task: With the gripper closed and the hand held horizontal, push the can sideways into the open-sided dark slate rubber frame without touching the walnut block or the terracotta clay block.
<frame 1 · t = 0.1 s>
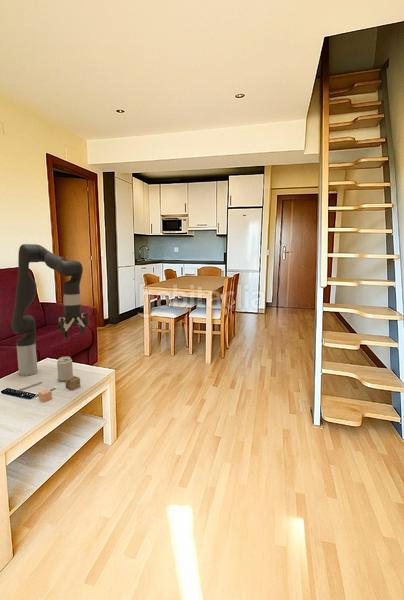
hand: (74, 336, 144), 29 cm above the table, tool pointing down, fingers open, 8 cm apart
clay block: (45, 399, 142), on the table
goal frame: (36, 389, 152), on the table
can: (65, 379, 165), on the table
walnut block: (73, 387, 155), on the table
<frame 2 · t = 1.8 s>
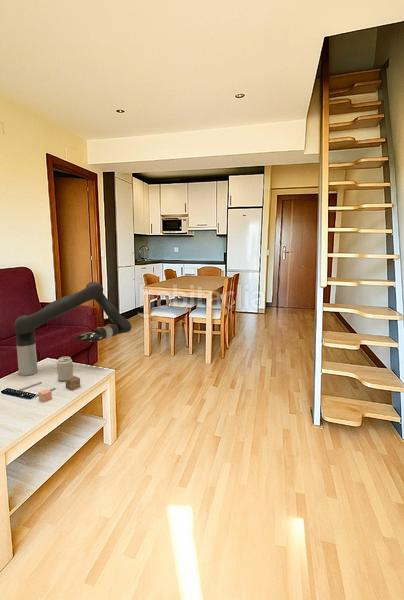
hand: (79, 339, 170), 20 cm above the table, tool horizontal, fingers open, 7 cm apart
nothing on the table moved.
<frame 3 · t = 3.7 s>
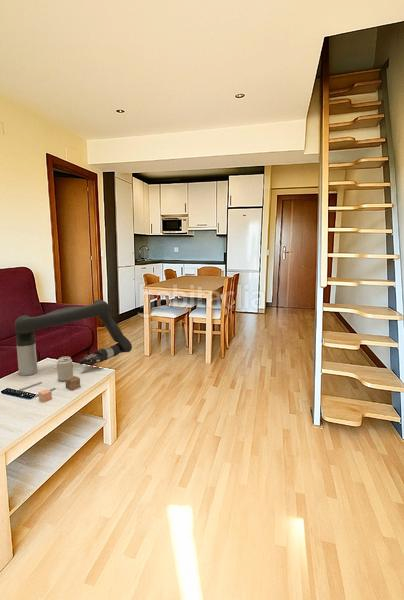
hand: (79, 362, 172), 6 cm above the table, tool horizontal, fingers closed
nothing on the table moved.
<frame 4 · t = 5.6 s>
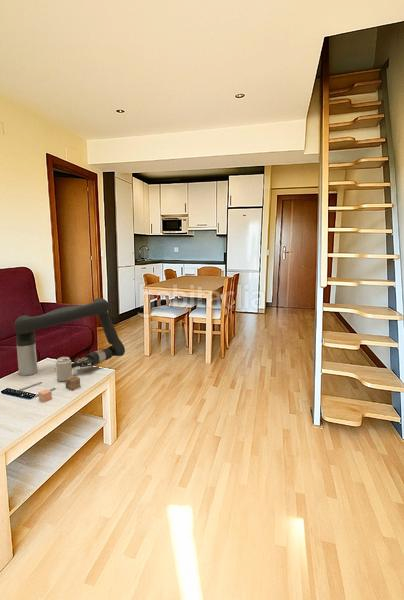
hand: (70, 366, 167), 6 cm above the table, tool horizontal, fingers closed
can: (64, 379, 165), on the table, touching gripper
everything else where it was.
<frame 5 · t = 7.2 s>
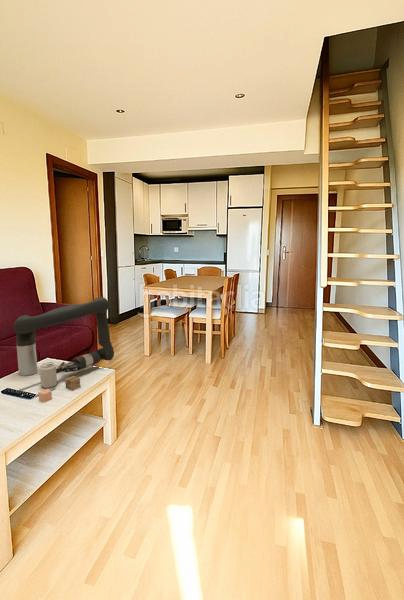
hand: (54, 371, 159), 6 cm above the table, tool horizontal, fingers closed
can: (49, 385, 157), on the table, touching gripper
everything else where it was.
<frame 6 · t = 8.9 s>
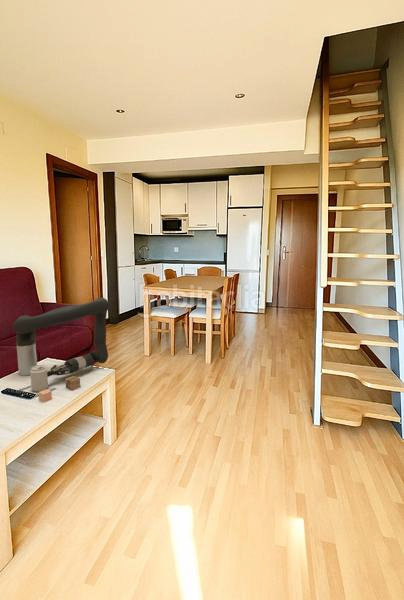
hand: (45, 374, 155), 6 cm above the table, tool horizontal, fingers closed
can: (40, 389, 153), on the table, touching gripper
everything else where it was.
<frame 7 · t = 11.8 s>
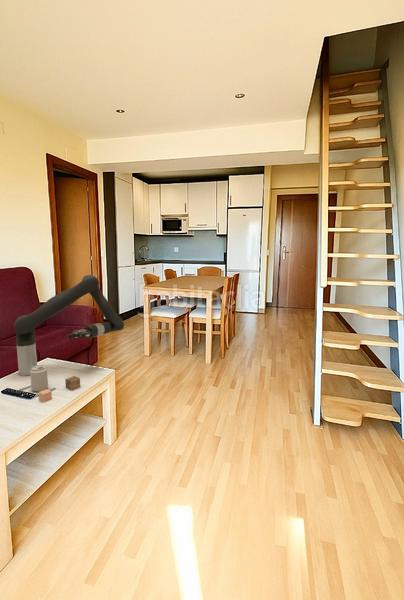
hand: (68, 336, 164), 23 cm above the table, tool horizontal, fingers closed
can: (40, 389, 153), on the table
everything else where it was.
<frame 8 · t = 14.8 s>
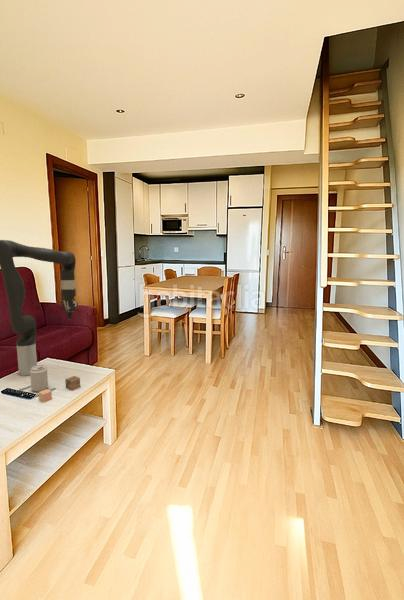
hand: (70, 318, 169), 32 cm above the table, tool pointing down, fingers closed
nothing on the table moved.
at the end: can inside the target area (0.9 cm from its centre), on the table; can tilted 0°; clay block moved 0.1 cm from its start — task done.
